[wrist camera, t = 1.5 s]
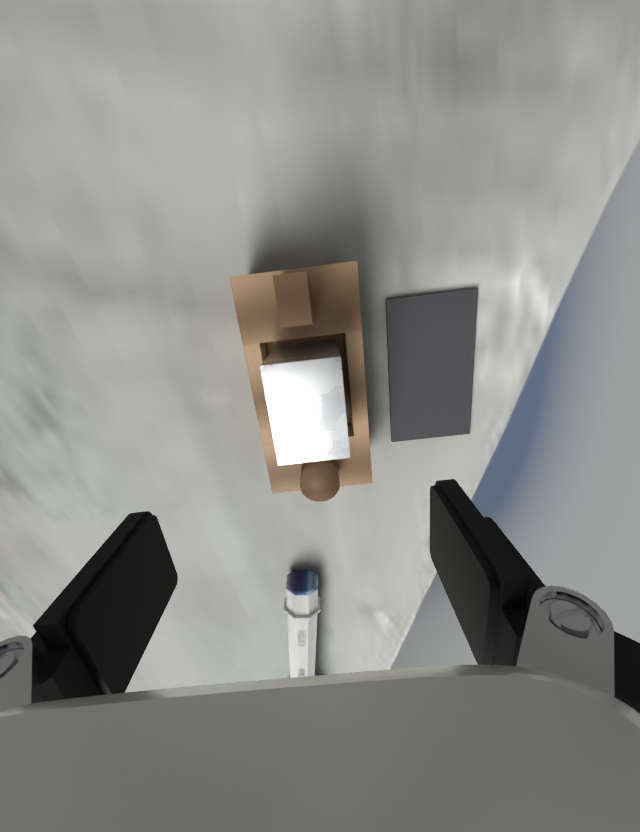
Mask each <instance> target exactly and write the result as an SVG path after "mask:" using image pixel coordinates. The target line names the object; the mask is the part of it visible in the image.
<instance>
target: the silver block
mask: <svg viewBox="0 0 640 832" xmlns="http://www.w3.org/2000/svg"><path fill="white" fill-rule="evenodd" d="M260 370H261V375H262V381H263V386H264V392H265V397H266V402H267V408H268V413H269V419H270V424H271V429H272V435H273V440H274V446H275V451H276V456H277V462H278V466H279V465H288V464H298V463H307V462H316V461H326V460H335V459H345V458H350V449H349V438H348V427H347V417H346V406H345V395H344V384H343V373H342V363H341V355H340V353H339V350H338V347H337V344H336V342H335V339H329V340H321V341H313V342H304V343H296V344H287V345H279V346H275V347H274V349H273V350H272V351H271V352H270V354H269V355H268V356H267V357H266V359H265V360H264V361H263V363H262V364H261V365H260Z"/></svg>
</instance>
